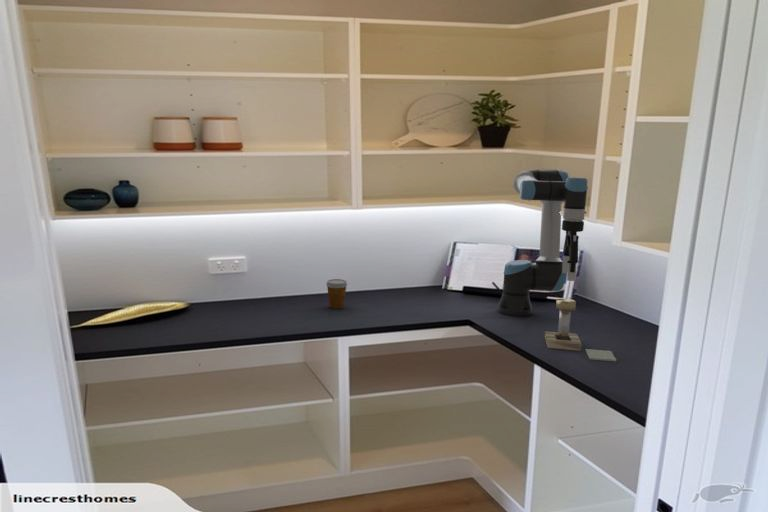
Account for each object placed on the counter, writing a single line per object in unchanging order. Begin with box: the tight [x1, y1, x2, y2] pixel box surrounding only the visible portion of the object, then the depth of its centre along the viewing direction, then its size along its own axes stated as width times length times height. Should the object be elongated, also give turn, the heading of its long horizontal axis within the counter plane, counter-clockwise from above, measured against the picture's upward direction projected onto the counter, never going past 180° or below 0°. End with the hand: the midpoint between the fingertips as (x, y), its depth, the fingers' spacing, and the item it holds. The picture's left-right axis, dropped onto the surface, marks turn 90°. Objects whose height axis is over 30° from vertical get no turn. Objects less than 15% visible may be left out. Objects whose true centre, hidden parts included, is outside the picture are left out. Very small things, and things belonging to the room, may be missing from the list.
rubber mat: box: [584, 348, 617, 363], centre depth 203 cm, size 9×9×1 cm
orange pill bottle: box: [326, 278, 348, 310], centre depth 255 cm, size 10×10×12 cm
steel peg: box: [555, 298, 577, 340], centre depth 213 cm, size 7×7×17 cm
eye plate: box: [544, 331, 583, 352], centre depth 214 cm, size 12×12×2 cm
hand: (568, 276), depth 209 cm, fingers open, 13 cm apart
